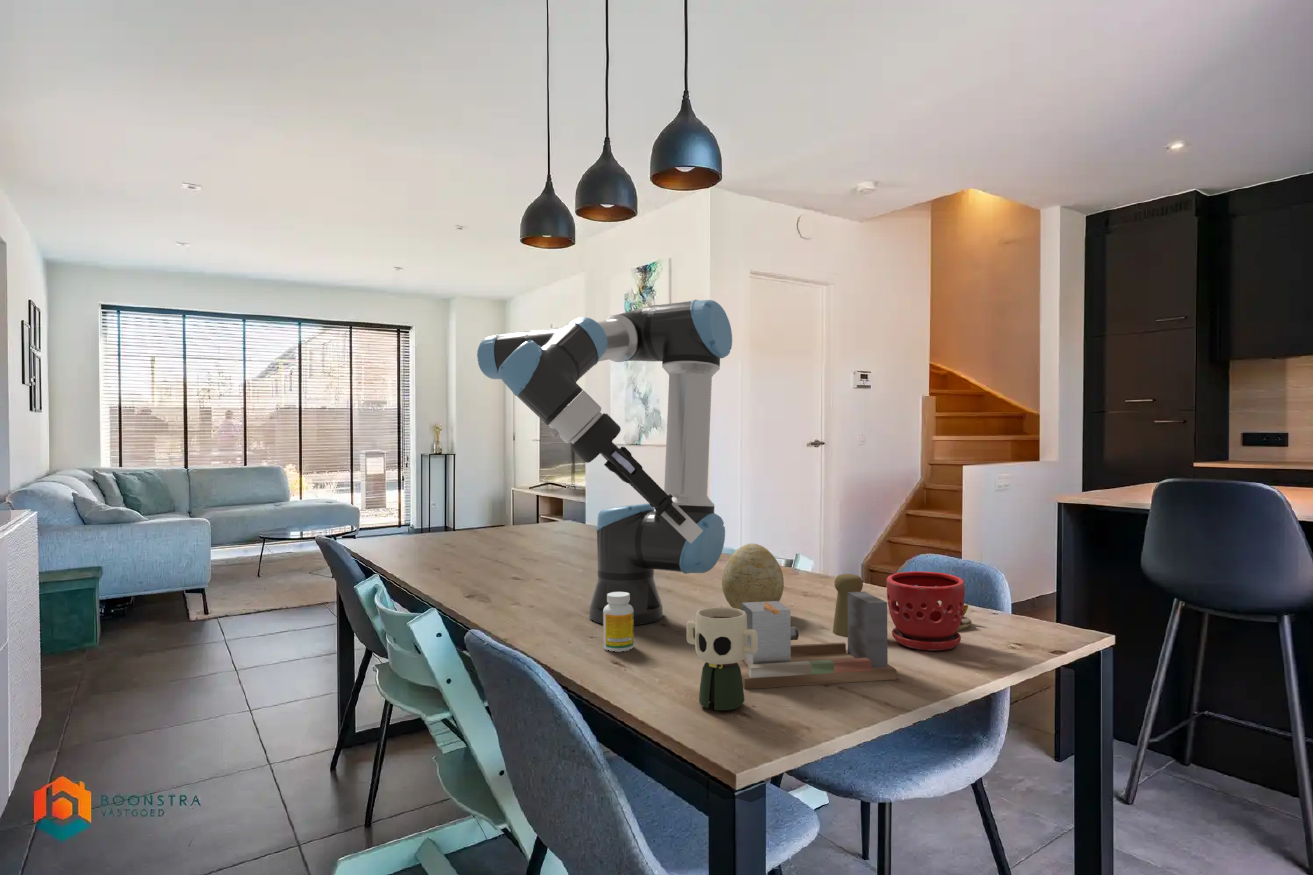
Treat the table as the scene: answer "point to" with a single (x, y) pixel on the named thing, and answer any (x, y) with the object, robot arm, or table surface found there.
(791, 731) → the table surface
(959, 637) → the plant pot
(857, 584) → the olive knobbed pawn
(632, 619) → the supplement bottle
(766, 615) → the grey cube with stick
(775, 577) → the fossilized egg
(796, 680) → the brown grey l-shaped piece
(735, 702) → the character mug
